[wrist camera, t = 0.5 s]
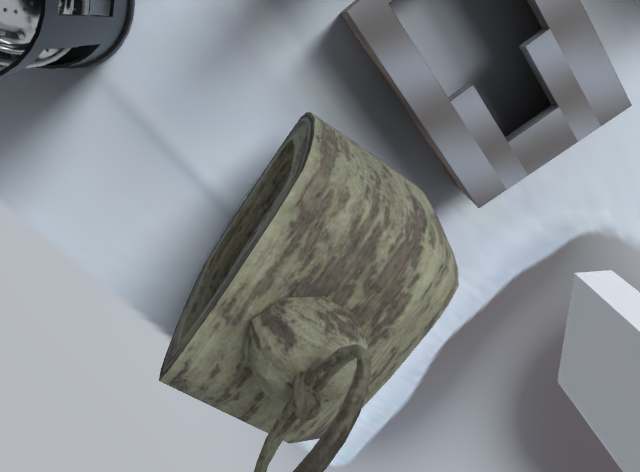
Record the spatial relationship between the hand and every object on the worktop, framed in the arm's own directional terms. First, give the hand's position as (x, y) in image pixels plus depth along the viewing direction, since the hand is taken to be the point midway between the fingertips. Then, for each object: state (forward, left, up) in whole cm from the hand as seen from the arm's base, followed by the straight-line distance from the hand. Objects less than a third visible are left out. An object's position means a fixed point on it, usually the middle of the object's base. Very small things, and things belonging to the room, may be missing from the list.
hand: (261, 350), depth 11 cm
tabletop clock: (+6, -3, -28) cm, 28 cm away
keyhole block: (+4, +13, -27) cm, 30 cm away
